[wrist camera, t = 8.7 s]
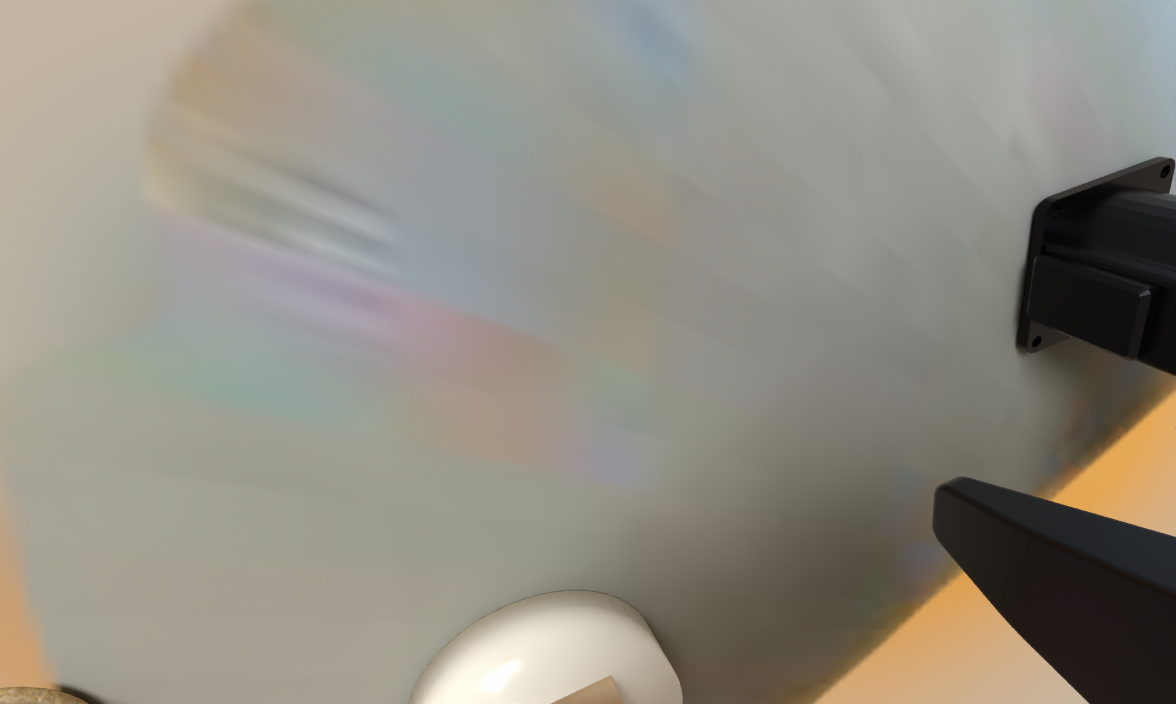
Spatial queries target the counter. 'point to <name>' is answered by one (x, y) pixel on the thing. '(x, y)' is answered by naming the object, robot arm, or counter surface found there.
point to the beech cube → (594, 694)
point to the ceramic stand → (551, 655)
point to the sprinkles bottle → (36, 696)
